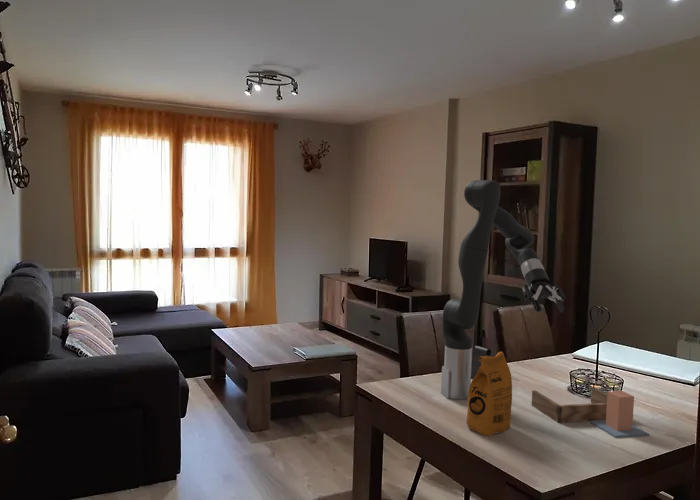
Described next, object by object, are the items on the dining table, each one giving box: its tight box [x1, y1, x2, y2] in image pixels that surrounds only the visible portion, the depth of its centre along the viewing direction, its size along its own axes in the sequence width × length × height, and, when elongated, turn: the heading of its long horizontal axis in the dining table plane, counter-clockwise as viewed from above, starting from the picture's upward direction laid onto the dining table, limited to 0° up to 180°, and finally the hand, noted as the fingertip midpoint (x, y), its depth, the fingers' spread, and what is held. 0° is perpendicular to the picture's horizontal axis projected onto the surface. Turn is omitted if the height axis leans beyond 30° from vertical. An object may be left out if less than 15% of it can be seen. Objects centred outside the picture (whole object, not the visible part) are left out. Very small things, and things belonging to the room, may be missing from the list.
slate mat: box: [589, 420, 650, 439], centre depth 154 cm, size 11×11×1 cm
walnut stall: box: [531, 387, 607, 424], centre depth 167 cm, size 23×15×5 cm, turn 101°
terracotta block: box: [606, 390, 635, 431], centre depth 154 cm, size 5×5×10 cm
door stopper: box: [471, 345, 492, 380], centre depth 201 cm, size 9×6×12 cm, turn 124°
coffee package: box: [465, 351, 513, 437], centre depth 152 cm, size 10×12×22 cm
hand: (551, 311), depth 177 cm, fingers open, 8 cm apart
